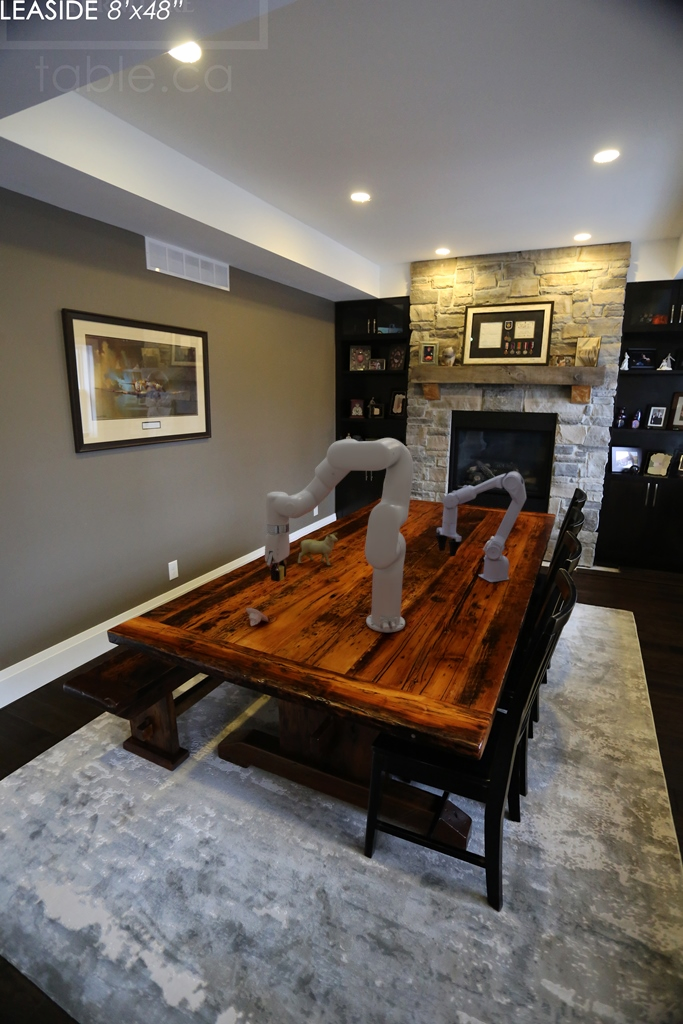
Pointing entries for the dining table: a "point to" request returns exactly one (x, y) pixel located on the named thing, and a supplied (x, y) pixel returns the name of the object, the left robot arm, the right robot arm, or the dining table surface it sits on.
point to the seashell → (255, 616)
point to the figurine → (487, 544)
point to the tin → (281, 572)
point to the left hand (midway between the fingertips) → (278, 578)
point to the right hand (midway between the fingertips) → (447, 553)
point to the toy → (318, 548)
